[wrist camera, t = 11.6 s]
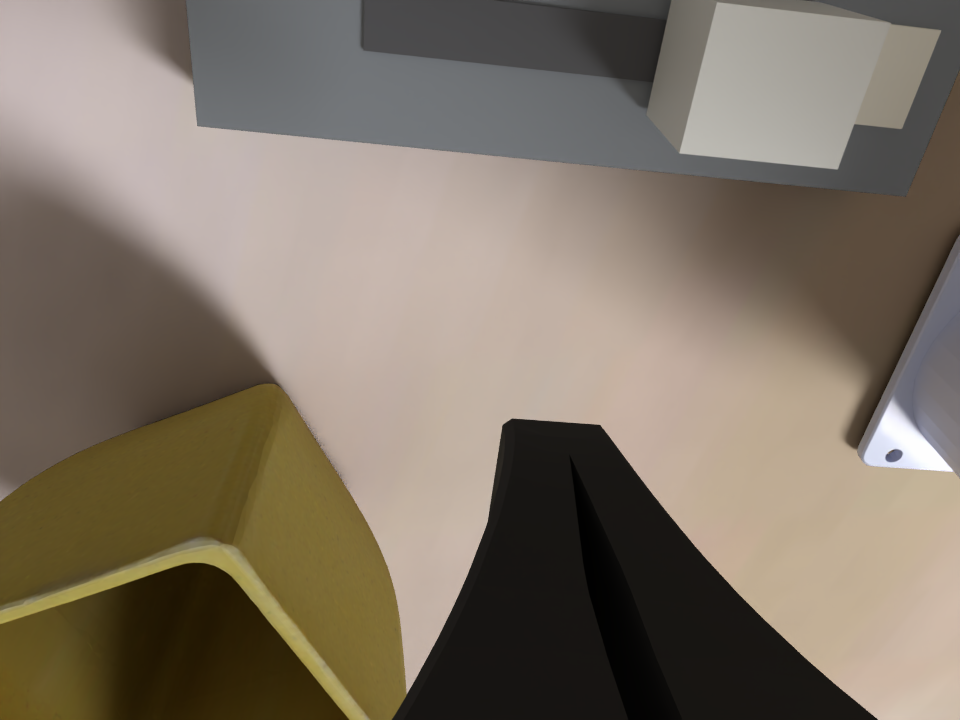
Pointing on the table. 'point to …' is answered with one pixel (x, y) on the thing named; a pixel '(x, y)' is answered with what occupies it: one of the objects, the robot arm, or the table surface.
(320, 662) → the flower pot
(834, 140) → the switch
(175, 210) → the table surface
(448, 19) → the panel
